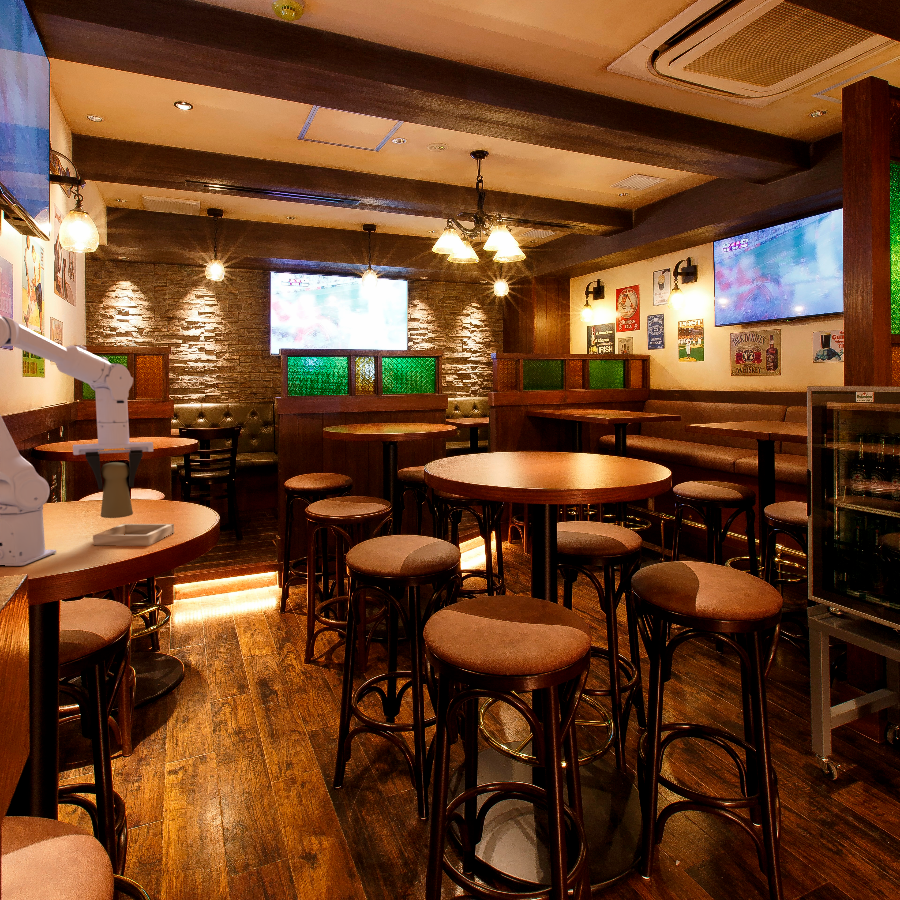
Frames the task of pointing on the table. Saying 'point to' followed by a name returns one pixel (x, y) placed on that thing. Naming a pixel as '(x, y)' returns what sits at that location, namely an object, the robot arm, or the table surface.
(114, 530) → the open square wooden box
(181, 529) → the table surface
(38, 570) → the table surface
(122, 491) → the cork
